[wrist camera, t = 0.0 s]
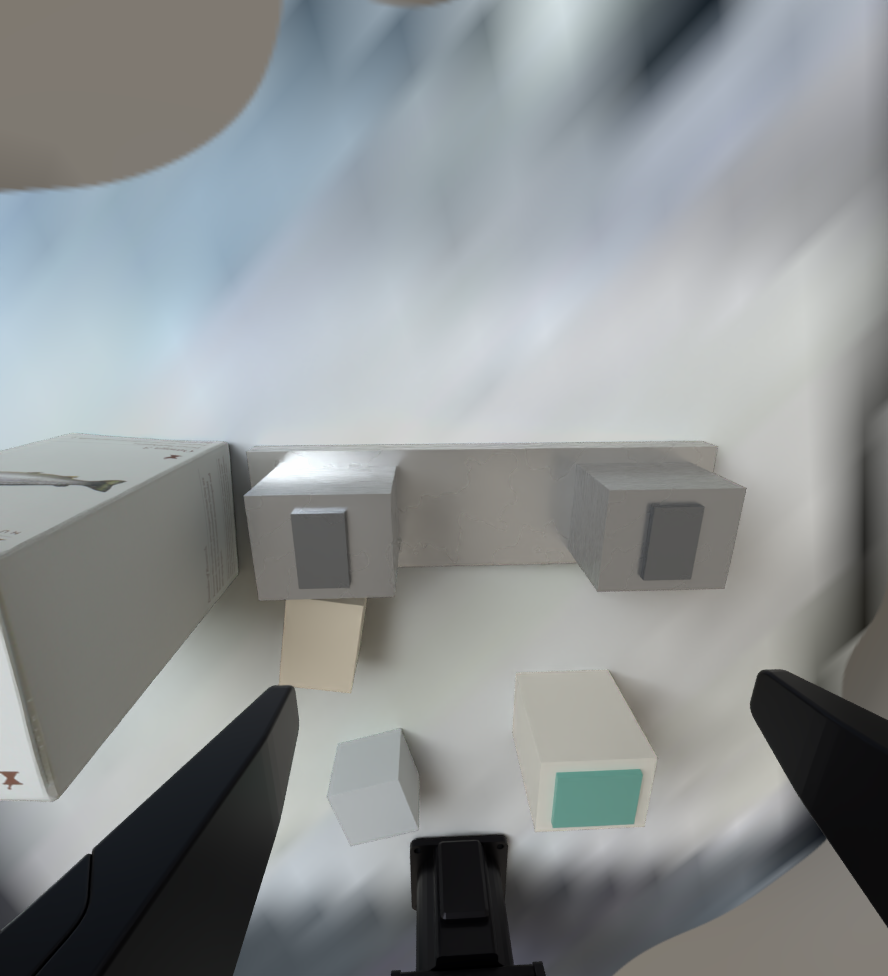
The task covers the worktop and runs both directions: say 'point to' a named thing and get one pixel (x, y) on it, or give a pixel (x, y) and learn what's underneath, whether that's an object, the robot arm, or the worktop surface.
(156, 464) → the supplement box
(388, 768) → the block
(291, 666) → the beige block
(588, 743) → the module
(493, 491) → the rail
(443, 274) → the worktop surface
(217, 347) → the worktop surface
